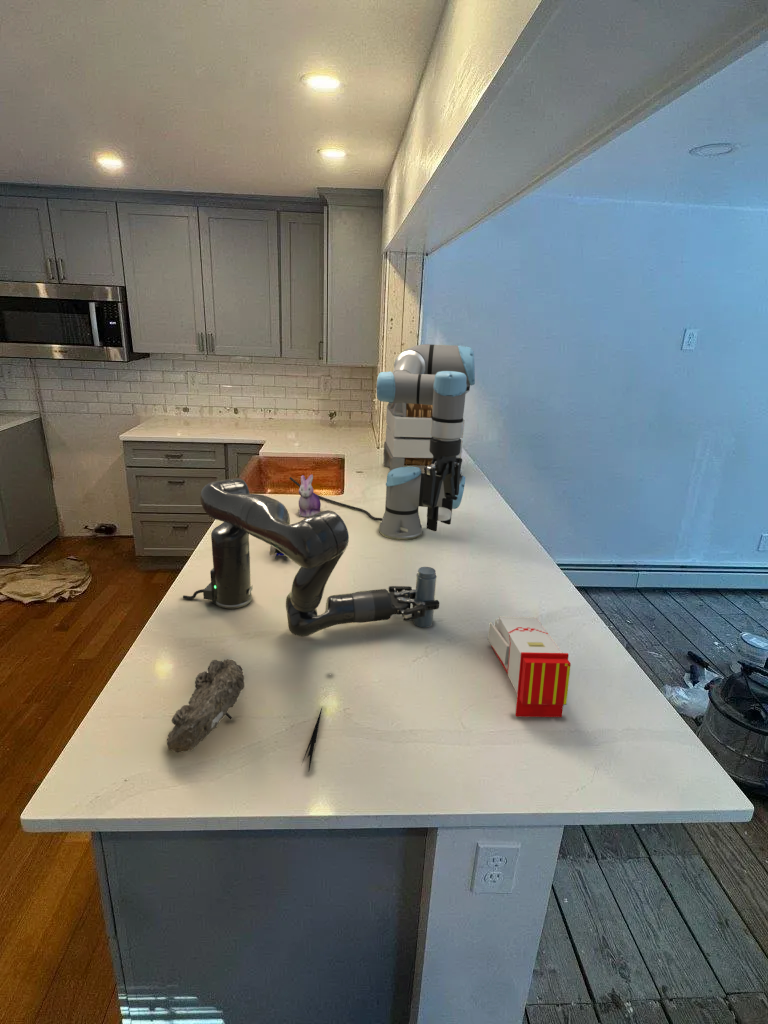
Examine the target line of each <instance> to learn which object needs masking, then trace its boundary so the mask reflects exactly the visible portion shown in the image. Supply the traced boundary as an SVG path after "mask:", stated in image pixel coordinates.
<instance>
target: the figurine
mask: <svg viewBox="0 0 768 1024" xmlns="http://www.w3.org/2000/svg"><path fill="white" fill-rule="evenodd" d="M313 480H314V475H313V474H310V475H309V476H308V477H307V479H306V477H305V475H304V474H302V475H301V476H300V485H301V486H300V487H298V495H299V499H298V508H299V509H298V515H299V517H303V518H308V517H310V516H312V515H314V514H317V513H319V512H321V507H322V505H321V499H320V498H319V497H318V496H317V495H318V494H317V493H315V492H314V488H313V486H312V483H313Z"/></svg>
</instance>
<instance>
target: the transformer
mask: <svg viewBox="0 0 768 1024" xmlns="http://www.w3.org/2000/svg"><path fill="white" fill-rule="evenodd" d="M387 403H388V404H387V405H386V413H385V414H386V415H385V423H386V428H385V438H384V442H383V466H384V467H388V468H389V472H390V471H391V470H393V469H396V468H399V467H405V466H406V467H417V466H418V467H425V466H430V465H431V462H432V459H433V455H432V453H430V451H429V448H430V438H431V437H433V436H432V435H431V425H432V424H431V422H432V411H433V405H425V404H410V403H389V402H387ZM464 429H465V419H464V418H463V428H462V437H461V438H460V440H461V449H460V454H459V458H462V453H463V442H464V441H463V440H462V439H463V438H464V431H465V430H464Z"/></svg>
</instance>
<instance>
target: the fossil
mask: <svg viewBox="0 0 768 1024" xmlns="http://www.w3.org/2000/svg"><path fill="white" fill-rule="evenodd" d="M243 670H244V669H243V667H242V665H240V664H237V662H236V661H235V660H234V659H232V658H231V659H227V658H226V659H224V660H223V661H222V660H217V659H212V660H211V661H210V663H209V665H208V666H207V671H201V672H199V673H198V674H197V675H196V676H195V680H194V684H195V685H194V687H195V689H194V690H193V693H192V694H191V697H190V698H189V700H188V704H184V705H182V706H181V707H180V709H177V710H176V711H175V713H174V715H173V716H172V718H171V723H172V724H173V727H172V730H171V731H170V732H168V734H167V738H166V741H167V742H166V745H167V749H168V750H169V751H173V752H174V753H176V754H178V753H182V752H188V751H189V752H192V751H193V750H195V748H196V747H197V746H199V744H200V743H201V742H203V741H204V740H205V739H206V738H207V737H208V736H209V735H210V734H211V733H212V732H214V730H215V729H217V727H218V726H219V724H220V722H221V721H222V720H223V719H224V718H225V716H226V717H227V719H229V720H233V717H232V715H230V714H229V710H230V709H231V708H234V706H235V704H236V703H237V702H238V699H239V697H240V695H241V693H242V691H243V690H245V689H244V688H245V675H244V671H243Z"/></svg>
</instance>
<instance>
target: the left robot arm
mask: <svg viewBox="0 0 768 1024" xmlns="http://www.w3.org/2000/svg"><path fill="white" fill-rule="evenodd" d="M199 496H200V499H199V500H200V504H201V507H202V508H203V510H204V512H205V513H206V515H207V516H208V517H210V518H211V519H213V520H216V521H220V522H222V523H220V524H219V525H217V526H215V528H213V530H212V531H211V534H210V539H211V540H210V541H211V552H212V553H211V554H212V555H211V556H212V568H211V569H210V572H209V573H210V583H208V585H207V586H206V587H205V588H202V589H197V590H196V591H194V593H193V594H192V595H185V594H184V595H182V598H183V599H185V600H194V599H195V598H196V597H197V595H198V594H203V595H202V596H203V600H206V601H207V600H208V601H211V603H212V604H213V605H216V606H217V607H219V608H223V609H226V610H227V609H239V608H243V607H246V606H247V605H249V604H250V603H251V602H252V600H253V599H252V598H253V597H252V596H253V595H252V591H253V585H252V584H251V583H252V581H251V579H252V577H251V560H250V559H251V556H250V536H252V537H254V538H256V539H258V540H260V541H263V542H265V543H266V544H267V545H270V547H271V546H273V547H275V548H276V549H278V550H279V551H280V552H282V553H283V554H284V556H285V555H286V556H287V559H289V560H290V561H292V562H293V563H295V564H296V565H297V566H299V567H300V568H299V569H298V571H297V572H296V573H295V576H294V577H293V580H292V584H291V590H290V591H289V592H288V594H287V595H286V599H285V610H286V611H285V612H286V617H287V625H288V631H289V632H290V633H291V634H292V635H294V636H296V637H308V636H310V635H314V634H316V633H318V632H319V631H320V632H321V631H322V630H325V629H328V628H331V627H333V626H337V625H347V624H354V623H358V624H359V623H361V624H364V623H371V622H372V623H373V622H380V621H388V620H390V619H391V617H392V616H393V615H395V616H396V615H398V616H402V620H403V621H404V622H408V621H413V619H416V618H420V617H424V616H425V611H427V610H434V611H436V610H439V609H440V601H439V600H438V599H435V600H432V601H425V602H421V601H416V600H415V589H416V588H414V589H413V587H412V586H410V585H407V586H403V585H401V586H400V585H389V586H388V589H386V588H380V589H370V590H360V591H355V592H351V593H350V592H349V593H341V594H334V595H330V596H328V597H326V601H325V611H324V612H322V614H318V610H317V608H318V607H319V606H320V604H321V602H322V599H323V595H324V591H325V588H326V585H327V582H328V581H329V578H330V577H331V575H332V573H333V571H334V570H335V568H336V567H337V564H338V563H339V561H340V559H341V558H342V556H343V555H344V553H345V552H346V550H347V549H348V545H349V540H350V537H349V530H348V527H347V525H346V523H345V522H344V520H343V518H342V517H341V516H340V515H339V514H338V513H336V512H335V511H333V510H322V511H320V512H319V513H317V514H314V515H312V516H309V517H305V518H304V519H302V520H300V521H298V522H295V523H292V524H291V519H290V513H289V511H288V509H287V507H286V506H285V505H284V504H283V503H282V502H281V501H279V500H277V499H274V498H272V497H270V496H268V495H264V494H258V493H250V488H249V487H248V485H247V482H246V481H245V480H244V479H243V478H240V477H237V478H228V479H221V480H216V481H211V482H208V483H207V484H205V485H204V486H203V487H202V489H201V492H200V495H199ZM416 605H420V606H418V607H415V606H416ZM418 612H420V613H418ZM417 613H418V614H417Z"/></svg>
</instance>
